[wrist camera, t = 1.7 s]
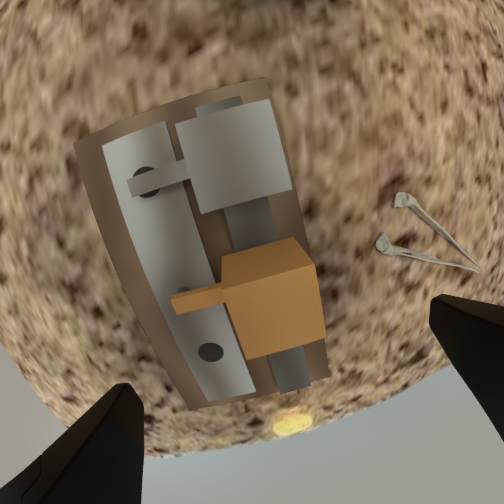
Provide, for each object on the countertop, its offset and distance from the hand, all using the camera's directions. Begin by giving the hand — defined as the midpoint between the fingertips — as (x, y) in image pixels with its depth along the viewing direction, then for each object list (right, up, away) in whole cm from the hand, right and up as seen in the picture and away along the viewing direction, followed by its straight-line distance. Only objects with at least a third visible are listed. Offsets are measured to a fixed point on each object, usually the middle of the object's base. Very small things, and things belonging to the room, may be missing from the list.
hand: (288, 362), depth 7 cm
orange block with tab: (-2, +1, +10) cm, 10 cm away
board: (-3, +1, +12) cm, 12 cm away
